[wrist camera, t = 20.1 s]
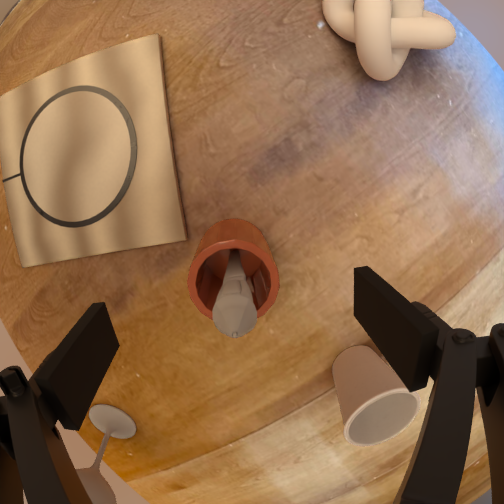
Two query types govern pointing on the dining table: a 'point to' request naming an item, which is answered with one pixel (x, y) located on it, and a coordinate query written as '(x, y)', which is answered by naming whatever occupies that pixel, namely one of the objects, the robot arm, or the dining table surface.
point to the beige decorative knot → (387, 31)
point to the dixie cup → (371, 397)
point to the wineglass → (112, 425)
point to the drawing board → (91, 157)
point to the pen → (234, 301)
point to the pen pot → (216, 260)
